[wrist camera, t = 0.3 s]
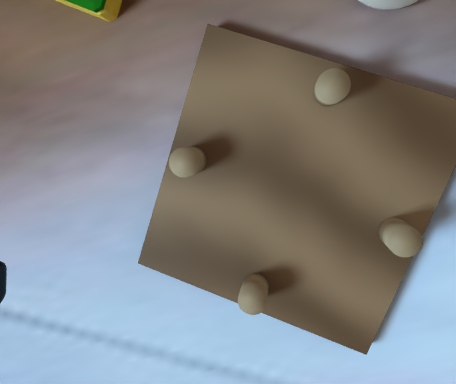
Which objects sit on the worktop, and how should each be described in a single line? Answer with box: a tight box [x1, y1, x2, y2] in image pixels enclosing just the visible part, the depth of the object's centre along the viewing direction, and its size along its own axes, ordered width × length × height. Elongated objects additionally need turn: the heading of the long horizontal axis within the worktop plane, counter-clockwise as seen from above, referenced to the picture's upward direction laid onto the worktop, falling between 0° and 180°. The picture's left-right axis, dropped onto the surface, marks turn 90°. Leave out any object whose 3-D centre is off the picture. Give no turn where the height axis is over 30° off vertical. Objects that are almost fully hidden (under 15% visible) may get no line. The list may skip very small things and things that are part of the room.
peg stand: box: [138, 24, 456, 355], centre depth 19 cm, size 15×15×3 cm
